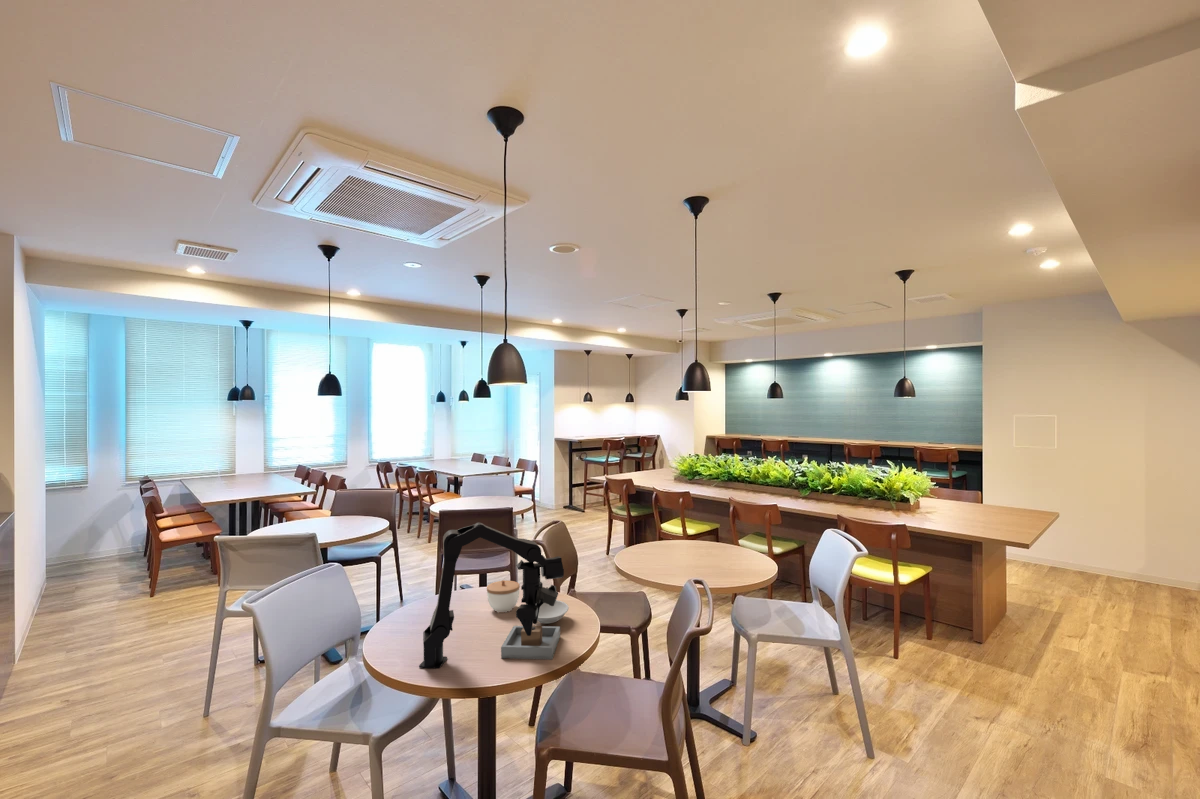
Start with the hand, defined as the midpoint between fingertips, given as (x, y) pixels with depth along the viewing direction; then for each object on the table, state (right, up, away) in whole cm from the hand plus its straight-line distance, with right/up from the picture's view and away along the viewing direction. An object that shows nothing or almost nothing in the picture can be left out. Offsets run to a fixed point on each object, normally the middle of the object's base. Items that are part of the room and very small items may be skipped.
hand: (532, 629), depth 168 cm
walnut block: (0, -5, 0) cm, 5 cm away
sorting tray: (0, -6, 0) cm, 6 cm away
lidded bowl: (-16, -7, +33) cm, 37 cm away
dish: (+3, -6, +20) cm, 21 cm away
